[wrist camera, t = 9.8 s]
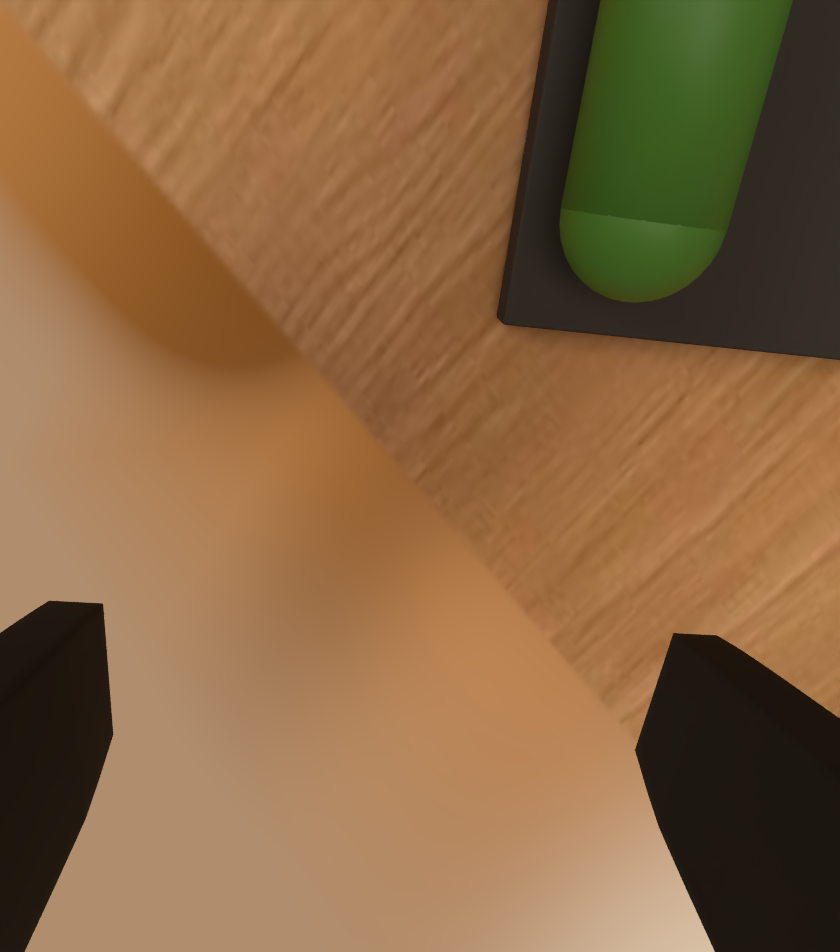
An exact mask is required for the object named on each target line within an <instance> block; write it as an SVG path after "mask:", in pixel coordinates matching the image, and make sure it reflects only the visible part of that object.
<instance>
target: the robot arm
mask: <svg viewBox="0 0 840 952" xmlns="http://www.w3.org/2000/svg"><path fill="white" fill-rule="evenodd" d="M112 737H113V726H112V713H111V701H110V689H109V675H108V662H107V649H106V636H105V624H104V611H103V604H100V603H82V602H80V603H79V602H61V601H48V602H47V603H45V604H43V605H42V606H40V607H39V608H37V609H35V610H34V611H32V612H31V613H29V614H28V615H26V616H25V617H24V618H22V619H20V620H19V621H17V622H16V623H14V624H13V625H11V626H10V627H8V628H7V629H5V630H4V631H3V632H1V633H0V952H25V949H26V947H27V945H28V943H29V941H30V939H31V937H32V934H33V932H34V930H35V928H36V926H37V924H38V921H39V919H40V917H41V915H42V913H43V911H44V909H45V906H46V904H47V902H48V900H49V898H50V896H51V894H52V891H53V889H54V887H55V885H56V883H57V880H58V878H59V876H60V874H61V872H62V869H63V867H64V865H65V863H66V861H67V859H68V856H69V854H70V852H71V850H72V848H73V846H74V843H75V841H76V839H77V837H78V834H79V832H80V830H81V827H82V825H83V823H84V821H85V818H86V816H87V813H88V810H89V807H90V804H91V801H92V798H93V795H94V793H95V790H96V787H97V784H98V781H99V778H100V775H101V771H102V768H103V765H104V762H105V759H106V756H107V752H108V749H109V746H110V743H111V740H112ZM635 751H636V755H637V758H638V762H639V765H640V768H641V772H642V775H643V779H644V782H645V786H646V789H647V792H648V795H649V798H650V801H651V804H652V807H653V810H654V813H655V816H656V820H657V822H658V826H659V828H660V830H661V833H662V835H663V837H664V840H665V842H666V844H667V847H668V849H669V851H670V853H671V856H672V857H673V860H674V862H675V865H676V867H677V869H678V871H679V874H680V876H681V878H682V880H683V882H684V885H685V887H686V889H687V891H688V894H689V896H690V898H691V900H692V902H693V904H694V907H695V909H696V911H697V913H698V916H699V918H700V920H701V922H702V924H703V926H704V929H705V931H706V933H707V935H708V937H709V940H710V942H711V944H712V946H713V948H714V951H715V952H840V718H838V717H837V716H835V715H834V714H832V713H831V712H830V711H828V710H827V709H825V708H824V707H823V706H821V705H820V704H818V703H817V702H815V701H814V700H813V699H811V698H810V697H808V696H807V695H806V694H804V693H803V692H801V691H800V690H798V689H797V688H796V687H794V686H793V685H791V684H790V683H789V682H787V681H786V680H784V679H783V678H781V677H780V676H779V675H777V674H776V673H774V672H773V671H771V670H770V669H768V668H767V667H765V666H764V665H763V664H761V663H760V662H758V661H757V660H755V659H754V658H752V657H751V656H749V655H748V654H746V653H745V652H743V651H742V650H740V649H738V648H737V647H735V646H734V645H732V644H730V643H729V642H727V641H725V640H724V639H722V638H720V637H719V636H717V635H697V634H678V633H673V636H672V639H671V642H670V645H669V648H668V651H667V654H666V658H665V661H664V664H663V667H662V670H661V673H660V676H659V679H658V682H657V685H656V688H655V691H654V694H653V697H652V700H651V703H650V706H649V709H648V712H647V715H646V718H645V721H644V724H643V727H642V730H641V733H640V736H639V740H638V743H637V746H636V749H635Z"/></svg>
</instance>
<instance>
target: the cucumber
mask: <svg viewBox="0 0 840 952" xmlns="http://www.w3.org/2000/svg"><path fill="white" fill-rule="evenodd" d="M792 3H793V0H600V5H599V10H598V16H597V21H596V26H595V31H594V36H593V42H592V47H591V52H590V57H589V63H588V68H587V73H586V78H585V84H584V89H583V94H582V99H581V104H580V110H579V115H578V120H577V125H576V131H575V136H574V141H573V146H572V152H571V157H570V162H569V167H568V172H567V178H566V183H565V188H564V193H563V199H562V204H561V212H560V223H559V227H560V238H561V243H562V247H563V250H564V254H565V257H566V259H567V261H568V263H569V264H570V266H571V268H572V270H573V271H574V273H575V274H576V275H577V276H578V277H579V279H580V280H581V281H582V282H583V283H584V284H586V285H587V286H588V287H589V288H591V289H592V290H593V291H595V292H597V293H599V294H601V295H603V296H605V297H607V298H610V299H613V300H617V301H622V302H630V303H638V302H648V301H654V300H657V299H661V298H664V297H667V296H670V295H672V294H674V293H676V292H678V291H680V290H681V289H683V288H685V287H686V286H688V285H689V284H690V283H692V282H693V281H694V280H695V279H697V278H698V277H699V276H700V275H701V274H702V273H703V272H704V270H705V269H706V268H707V267H708V266H709V265H710V264H711V262H712V261H713V259H714V257H715V256H716V254H717V253H718V251H719V249H720V248H721V245H722V242H723V240H724V237H725V235H726V232H727V229H728V226H729V222H730V219H731V215H732V212H733V208H734V205H735V201H736V198H737V194H738V191H739V187H740V184H741V180H742V177H743V173H744V170H745V166H746V163H747V159H748V156H749V152H750V149H751V145H752V142H753V138H754V135H755V132H756V128H757V125H758V121H759V118H760V114H761V111H762V107H763V104H764V100H765V97H766V93H767V90H768V86H769V83H770V79H771V76H772V72H773V69H774V65H775V62H776V58H777V55H778V51H779V48H780V44H781V41H782V37H783V34H784V30H785V27H786V23H787V20H788V16H789V13H790V9H791V6H792Z"/></svg>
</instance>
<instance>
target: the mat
mask: <svg viewBox="0 0 840 952" xmlns="http://www.w3.org/2000/svg"><path fill="white" fill-rule="evenodd" d="M599 5H600V0H549V4H548V10H547V16H546V22H545V28H544V34H543V40H542V46H541V53H540V59H539V65H538V71H537V77H536V83H535V89H534V95H533V101H532V107H531V113H530V119H529V125H528V131H527V137H526V143H525V149H524V155H523V161H522V167H521V173H520V179H519V185H518V191H517V197H516V203H515V209H514V215H513V221H512V227H511V233H510V239H509V245H508V251H507V257H506V264H505V270H504V276H503V282H502V288H501V294H500V300H499V306H498V312H497V318H498V319H499V320H500V321H501V322H502V323H503V324H505V325H514V326H523V327H533V328H542V329H552V330H561V331H571V332H580V333H590V334H599V335H609V336H618V337H628V338H637V339H647V340H656V341H666V342H675V343H685V344H694V345H704V346H713V347H723V348H732V349H742V350H751V351H761V352H770V353H780V354H789V355H799V356H808V357H817V358H827V359H836V360H840V0H793V3H792V6H791V9H790V13H789V16H788V20H787V23H786V27H785V30H784V34H783V37H782V41H781V44H780V48H779V51H778V55H777V58H776V62H775V65H774V69H773V72H772V76H771V79H770V83H769V86H768V90H767V93H766V97H765V100H764V104H763V107H762V111H761V114H760V118H759V121H758V125H757V128H756V132H755V135H754V138H753V142H752V145H751V149H750V152H749V156H748V159H747V163H746V166H745V170H744V173H743V177H742V180H741V184H740V187H739V191H738V194H737V198H736V201H735V205H734V208H733V212H732V215H731V219H730V222H729V226H728V229H727V232H726V235H725V237H724V240H723V242H722V245H721V248H720V249H719V251H718V253H717V254H716V256H715V257H714V259H713V261H712V262H711V264H710V265H709V266H708V267H707V268H706V269H705V270H704V272H703V273H702V274H701V275H700V276H699V277H698V278H697V279H695V280H694V281H693V282H692V283H690V284H689V285H688V286H686V287H685V288H683V289H681V290H680V291H678V292H676V293H674V294H672V295H670V296H667V297H664V298H661V299H657V300H654V301H648V302H638V303H630V302H622V301H617V300H613V299H610V298H607V297H605V296H603V295H601V294H599V293H597V292H595V291H593V290H592V289H591V288H589V287H588V286H587V285H586V284H584V283H583V282H582V281H581V280H580V279H579V277H578V276H577V275H576V274H575V273H574V271H573V270H572V268H571V266H570V264H569V263H568V261H567V259H566V257H565V254H564V250H563V247H562V243H561V238H560V227H559V223H560V212H561V204H562V199H563V193H564V188H565V183H566V178H567V172H568V167H569V162H570V157H571V152H572V146H573V141H574V136H575V131H576V125H577V120H578V115H579V110H580V104H581V99H582V94H583V89H584V84H585V78H586V73H587V68H588V63H589V57H590V52H591V47H592V42H593V36H594V31H595V26H596V21H597V16H598V10H599Z"/></svg>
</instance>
